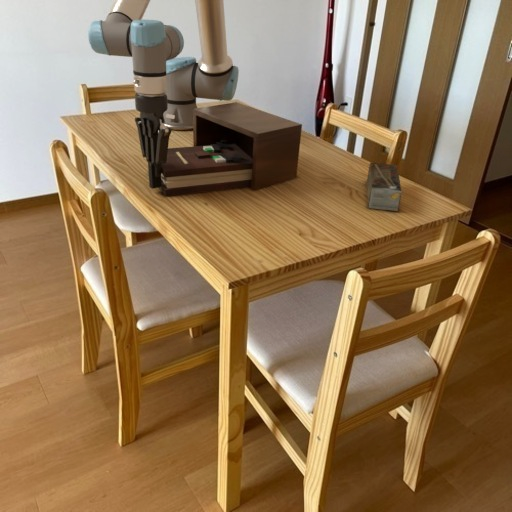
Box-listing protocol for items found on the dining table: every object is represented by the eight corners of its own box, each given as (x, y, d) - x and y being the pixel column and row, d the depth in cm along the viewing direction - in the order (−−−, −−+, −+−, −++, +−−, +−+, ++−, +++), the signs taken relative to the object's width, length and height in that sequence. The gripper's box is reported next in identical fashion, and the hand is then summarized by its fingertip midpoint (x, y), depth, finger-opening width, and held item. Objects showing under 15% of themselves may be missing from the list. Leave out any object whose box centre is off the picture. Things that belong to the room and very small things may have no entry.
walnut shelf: (193, 160, 148) (193, 108, 140) (234, 150, 158) (236, 102, 150) (254, 190, 131) (258, 133, 123) (296, 177, 141) (302, 124, 133)
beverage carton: (366, 208, 125) (371, 184, 121) (365, 181, 141) (369, 159, 138) (397, 212, 124) (403, 188, 120) (393, 184, 140) (398, 163, 137)
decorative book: (139, 146, 133) (240, 138, 144) (141, 172, 137) (239, 162, 148) (156, 170, 118) (267, 160, 129) (157, 199, 122) (265, 186, 133)
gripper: (122, 89, 115) (129, 181, 127) (151, 101, 107) (156, 198, 119) (150, 86, 120) (154, 175, 132) (180, 97, 112) (182, 191, 124)
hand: (155, 186), depth 125 cm, fingers closed
